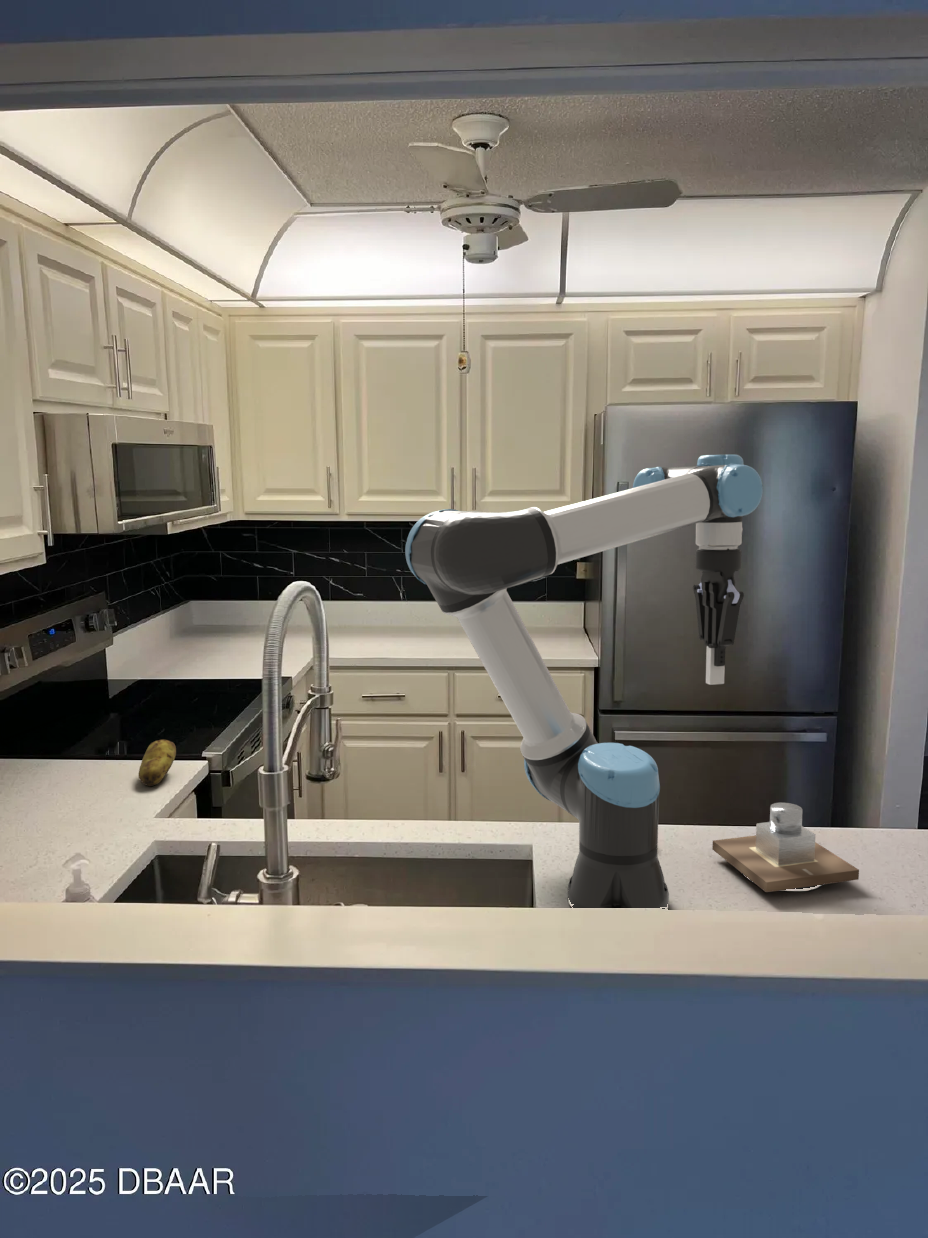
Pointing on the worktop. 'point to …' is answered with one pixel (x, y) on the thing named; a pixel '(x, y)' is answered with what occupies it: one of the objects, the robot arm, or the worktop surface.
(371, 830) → the worktop surface
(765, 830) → the metal block with knob
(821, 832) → the worktop surface
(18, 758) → the worktop surface
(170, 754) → the potato
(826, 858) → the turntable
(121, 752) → the worktop surface
